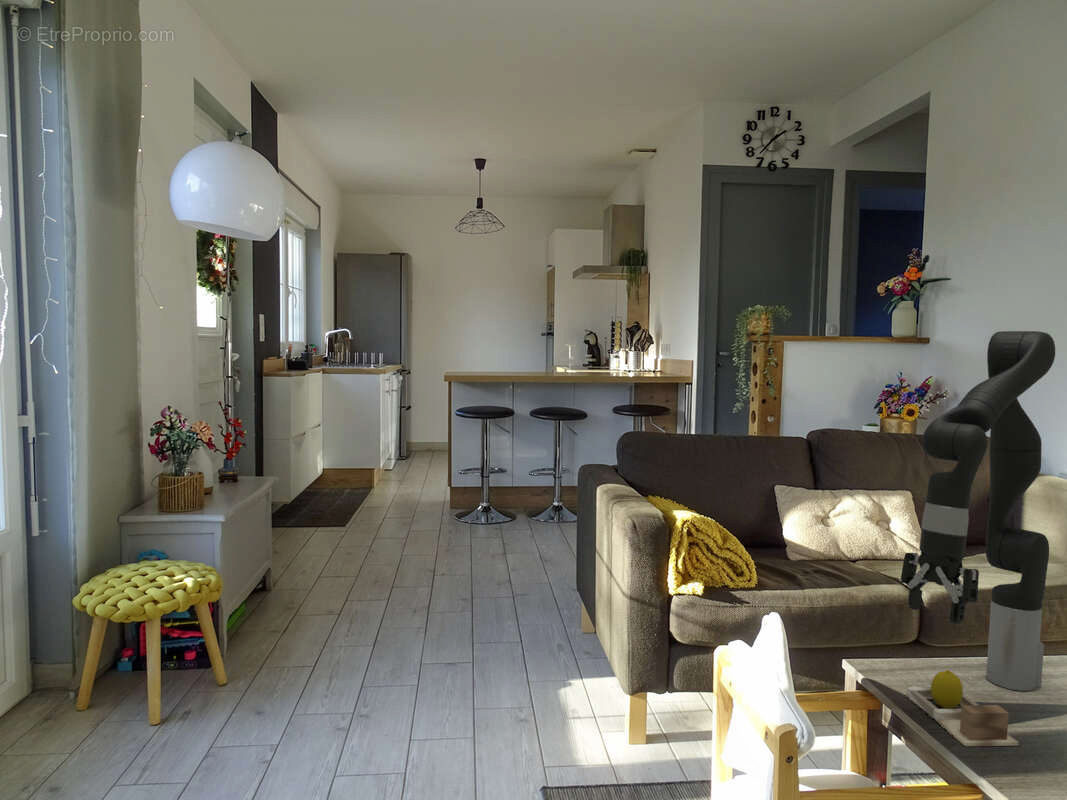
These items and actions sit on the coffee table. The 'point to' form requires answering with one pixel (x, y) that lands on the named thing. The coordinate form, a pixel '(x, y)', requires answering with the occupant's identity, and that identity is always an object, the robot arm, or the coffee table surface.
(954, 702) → the lemon
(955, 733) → the white open frame tray
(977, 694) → the coffee table surface
